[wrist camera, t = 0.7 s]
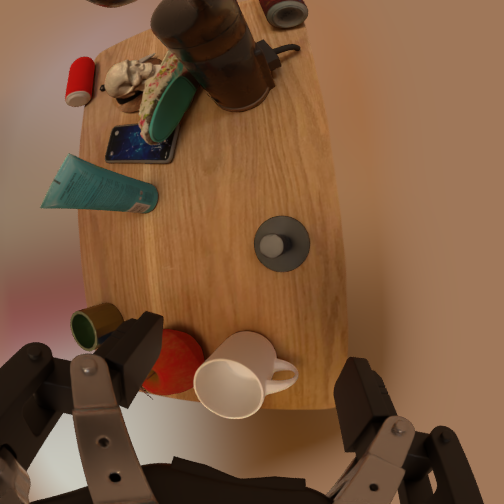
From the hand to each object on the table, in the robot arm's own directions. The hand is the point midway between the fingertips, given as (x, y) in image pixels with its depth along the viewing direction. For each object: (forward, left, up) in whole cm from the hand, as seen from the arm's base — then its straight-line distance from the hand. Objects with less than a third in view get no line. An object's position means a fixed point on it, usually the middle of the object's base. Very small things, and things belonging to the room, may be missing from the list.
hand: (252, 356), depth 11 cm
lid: (0, -5, -27) cm, 27 cm away
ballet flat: (-1, -32, -23) cm, 39 cm away
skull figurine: (+9, -43, -27) cm, 51 cm away
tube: (+17, -21, -27) cm, 38 cm away
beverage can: (+23, -50, -24) cm, 60 cm away
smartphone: (+14, -31, -27) cm, 43 cm away
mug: (+10, +9, -27) cm, 31 cm away
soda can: (-19, -46, -28) cm, 57 cm away
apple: (+22, +4, -27) cm, 36 cm away
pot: (+35, -6, -27) cm, 45 cm away
